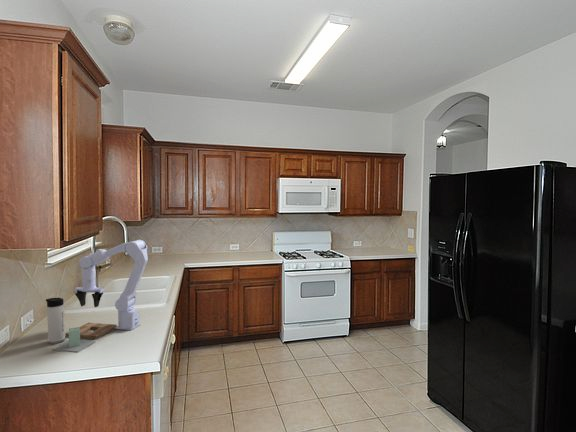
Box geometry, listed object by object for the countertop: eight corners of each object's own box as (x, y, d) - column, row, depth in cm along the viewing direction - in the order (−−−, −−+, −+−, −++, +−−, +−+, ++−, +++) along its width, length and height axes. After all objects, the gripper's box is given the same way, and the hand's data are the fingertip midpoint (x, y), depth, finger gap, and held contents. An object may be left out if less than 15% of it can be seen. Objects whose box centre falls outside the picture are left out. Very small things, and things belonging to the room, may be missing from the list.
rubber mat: (95, 342, 154) (95, 341, 154) (78, 352, 144) (77, 351, 144) (72, 340, 156) (72, 339, 156) (53, 350, 146) (53, 348, 146)
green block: (80, 342, 153) (79, 326, 152) (80, 345, 149) (79, 329, 149) (69, 344, 151) (69, 328, 150) (69, 347, 147) (68, 331, 147)
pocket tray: (116, 327, 171) (116, 324, 171) (96, 339, 157) (96, 336, 157) (88, 325, 173) (88, 322, 173) (66, 336, 160) (65, 333, 160)
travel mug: (45, 341, 154) (43, 298, 153) (62, 337, 159) (60, 295, 158) (50, 345, 150) (48, 301, 149) (67, 340, 155) (65, 297, 154)
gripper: (107, 278, 173) (108, 304, 174) (82, 277, 176) (83, 302, 177) (97, 281, 166) (98, 309, 167) (71, 280, 169) (72, 307, 170)
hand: (89, 306), depth 171 cm, fingers open, 7 cm apart
